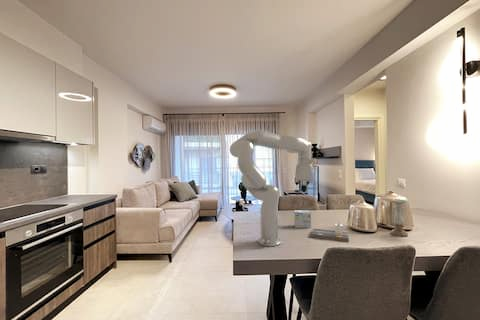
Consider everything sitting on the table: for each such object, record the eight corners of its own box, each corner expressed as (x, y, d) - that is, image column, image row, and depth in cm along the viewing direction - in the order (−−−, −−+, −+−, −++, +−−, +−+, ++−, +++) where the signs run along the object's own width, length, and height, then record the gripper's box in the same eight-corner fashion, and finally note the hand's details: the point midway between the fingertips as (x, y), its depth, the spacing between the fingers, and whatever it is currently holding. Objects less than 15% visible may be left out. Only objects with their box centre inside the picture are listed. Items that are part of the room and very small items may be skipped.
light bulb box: (309, 225, 158) (309, 210, 158) (311, 228, 151) (311, 212, 152) (293, 225, 159) (293, 209, 159) (295, 228, 152) (295, 211, 153)
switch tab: (342, 235, 130) (342, 225, 130) (335, 234, 131) (335, 224, 131) (342, 233, 133) (342, 223, 133) (335, 232, 135) (335, 222, 135)
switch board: (348, 242, 125) (348, 236, 125) (310, 237, 133) (310, 232, 133) (348, 235, 136) (348, 230, 136) (313, 231, 144) (313, 226, 144)
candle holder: (387, 233, 139) (386, 200, 139) (395, 231, 143) (394, 198, 143) (402, 237, 131) (402, 202, 131) (411, 235, 135) (410, 200, 135)
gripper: (317, 162, 139) (317, 192, 138) (293, 162, 146) (292, 190, 145) (316, 161, 132) (315, 193, 132) (290, 161, 139) (290, 191, 138)
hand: (303, 192), depth 138 cm, fingers closed
